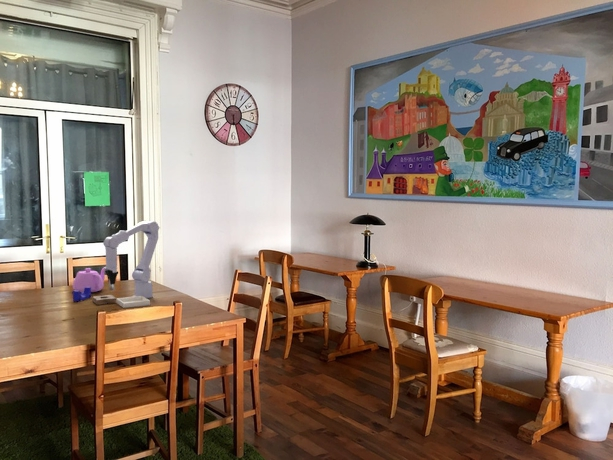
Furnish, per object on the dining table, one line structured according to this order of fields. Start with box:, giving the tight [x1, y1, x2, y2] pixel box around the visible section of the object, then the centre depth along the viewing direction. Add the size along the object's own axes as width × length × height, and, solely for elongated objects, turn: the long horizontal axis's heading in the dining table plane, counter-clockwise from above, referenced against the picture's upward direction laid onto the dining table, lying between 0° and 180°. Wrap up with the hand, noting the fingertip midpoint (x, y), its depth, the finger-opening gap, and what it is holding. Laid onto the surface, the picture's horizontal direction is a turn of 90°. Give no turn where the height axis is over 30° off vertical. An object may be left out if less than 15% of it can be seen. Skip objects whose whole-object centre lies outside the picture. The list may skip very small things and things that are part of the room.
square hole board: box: [92, 294, 117, 306], centre depth 294 cm, size 10×10×2 cm
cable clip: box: [72, 287, 92, 302], centre depth 300 cm, size 12×4×6 cm, turn 169°
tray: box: [116, 296, 151, 309], centre depth 290 cm, size 14×14×2 cm
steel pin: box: [108, 279, 115, 291], centre depth 292 cm, size 3×3×9 cm
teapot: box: [72, 267, 106, 294], centre depth 323 cm, size 22×22×14 cm
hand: (111, 283), depth 293 cm, fingers closed on steel pin, 3 cm apart
